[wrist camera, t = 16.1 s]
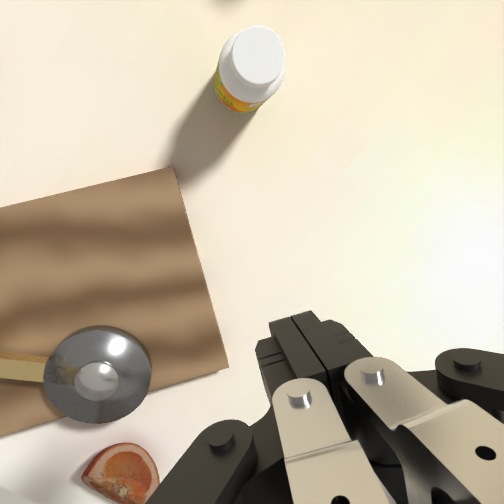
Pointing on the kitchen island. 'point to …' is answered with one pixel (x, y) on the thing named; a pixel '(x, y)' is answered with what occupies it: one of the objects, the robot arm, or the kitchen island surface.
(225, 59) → the supplement bottle
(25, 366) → the grey and tan lever
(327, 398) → the robot arm
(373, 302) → the kitchen island surface
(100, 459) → the fruit slice
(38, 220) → the levelling board
